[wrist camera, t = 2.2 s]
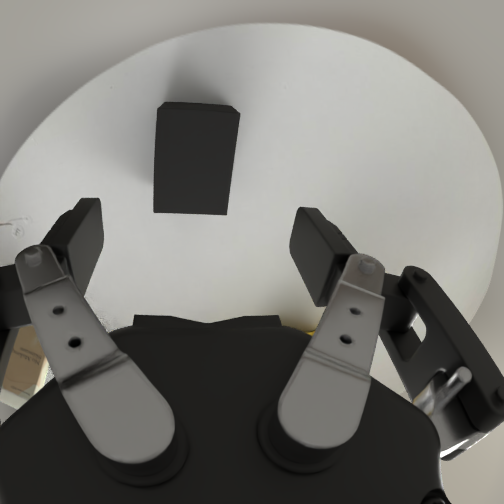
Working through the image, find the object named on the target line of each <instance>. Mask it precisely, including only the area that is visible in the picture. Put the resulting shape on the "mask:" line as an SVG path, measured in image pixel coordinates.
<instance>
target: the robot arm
mask: <svg viewBox="0 0 504 504" xmlns="http://www.w3.org/2000/svg"><path fill="white" fill-rule="evenodd" d="M103 243H104V231H103V222H102V211H101V202H100V199H99V198H81V199H80V200H79V202H78V203H77V204H76V206H75V207H74V208H73V210H68V211H67V212H65V213H64V214H62V215H61V216H60V217H59V218H58V220H57V221H56V222H55V224H54V225H53V226H52V228H51V230H49V232H48V233H47V235H46V236H45V238H44V239H43V240H42V242H41V243H40V244H39V245H33V246H30V247H27V248H25V249H24V250H22V251H21V252H20V253H19V254H18V255H17V256H16V258H15V264H12V265H7V266H2V267H0V392H1V388H2V384H3V380H4V377H5V373H6V369H7V366H8V363H9V359H10V356H11V353H12V350H13V347H14V344H15V341H16V338H17V335H18V332H19V329H20V328H21V327H26V326H32V325H33V327H34V329H35V332H36V335H37V337H38V340H39V342H40V345H41V347H42V349H43V352H44V354H45V356H46V359H47V361H48V363H49V365H50V368H51V370H52V372H53V374H54V376H55V377H54V378H53V379H51V380H50V381H49V382H48V383H47V384H46V385H45V386H44V387H42V388H41V389H40V390H39V391H38V392H37V393H36V394H35V395H33V396H32V397H31V398H30V399H29V400H28V401H27V402H26V403H24V404H23V405H22V406H21V407H20V408H19V409H18V410H17V411H16V412H15V413H13V414H12V415H11V416H10V417H9V418H8V419H7V420H6V421H5V422H4V423H3V424H2V425H1V421H0V504H451V503H450V501H449V500H448V498H447V497H446V495H445V492H444V489H443V483H442V477H441V460H444V461H449V460H452V459H454V458H456V457H457V456H458V455H460V454H461V453H463V452H464V451H466V450H467V449H469V448H470V447H471V446H473V445H474V444H475V443H477V442H478V441H480V440H481V439H482V438H484V437H485V436H486V435H487V434H489V433H490V432H491V431H492V430H494V429H495V428H496V427H497V426H499V425H500V424H501V423H502V422H503V421H504V377H503V375H502V374H501V372H500V370H499V369H498V367H497V366H496V364H495V362H494V361H493V359H492V358H491V356H490V355H489V353H488V352H487V350H486V349H485V347H484V346H483V344H482V343H481V341H480V340H479V338H478V337H477V335H476V334H475V333H474V331H473V330H472V328H471V327H470V325H469V324H468V323H467V321H466V320H465V318H464V317H463V316H462V314H461V313H460V312H459V310H458V309H457V308H456V306H455V305H454V304H453V302H452V301H451V300H450V299H449V297H448V296H447V295H446V293H445V292H444V291H443V290H442V288H441V287H440V286H439V285H438V283H437V282H436V281H435V280H434V279H433V277H432V276H431V275H430V274H429V273H427V272H426V271H424V270H423V269H421V268H418V267H415V266H406V267H405V268H404V270H403V272H402V274H401V276H396V275H392V274H387V273H385V268H384V266H383V265H382V264H381V263H380V262H379V261H378V260H376V259H375V258H373V257H371V256H368V255H365V254H360V253H358V252H357V251H356V250H355V248H354V247H353V246H352V245H351V243H350V242H349V241H348V240H347V238H346V237H345V236H344V235H342V232H341V231H340V230H339V228H338V227H337V226H335V225H334V224H333V223H331V222H330V221H328V220H326V218H325V217H324V216H323V215H322V213H321V212H320V211H319V210H318V209H317V208H308V207H299V208H298V210H297V213H296V217H295V221H294V225H293V229H292V234H291V238H290V244H289V248H290V254H291V256H292V258H293V260H294V262H295V264H296V266H297V268H298V270H299V272H300V274H301V277H302V279H303V281H304V283H305V285H306V287H307V289H308V291H309V293H310V295H311V297H312V299H313V302H314V304H315V306H316V307H325V306H327V307H326V309H325V311H324V313H323V315H322V317H321V320H320V322H319V324H318V326H317V328H316V330H315V332H314V334H313V336H311V335H309V334H308V333H305V332H303V331H301V330H298V329H295V328H291V327H287V326H282V324H281V321H280V318H279V315H268V316H242V317H238V318H233V319H228V320H223V321H219V322H214V323H202V322H197V321H192V320H187V319H182V318H178V317H173V316H157V315H134V320H133V326H127V327H123V328H120V329H117V330H114V331H112V332H110V333H107V331H106V330H105V329H104V327H103V326H102V324H101V323H100V321H99V320H98V318H97V317H96V315H95V314H94V312H93V311H92V309H91V307H90V306H89V304H88V303H87V301H86V300H85V298H84V295H85V292H86V289H87V287H88V284H89V281H90V279H91V276H92V273H93V271H94V268H95V266H96V263H97V261H98V258H99V256H100V253H101V251H102V248H103ZM418 315H419V316H420V317H421V319H422V320H423V322H424V324H425V326H426V336H425V338H424V340H423V341H422V342H421V341H420V339H419V337H418V336H417V334H416V332H415V331H414V329H413V327H412V325H413V323H414V322H415V320H416V318H417V317H418ZM378 334H379V336H380V338H381V340H382V342H383V344H384V346H385V348H386V350H387V352H388V354H389V356H390V358H391V360H392V362H393V364H394V366H395V368H396V370H397V372H398V374H399V376H400V378H401V380H402V382H403V385H404V387H405V389H406V391H407V393H408V395H409V397H410V400H411V402H412V403H410V402H409V401H407V400H406V399H404V398H403V397H401V396H400V395H398V394H397V393H395V392H394V391H392V390H391V389H389V388H388V387H386V386H385V385H383V384H382V383H380V382H379V381H377V380H376V379H374V378H373V377H371V376H370V375H369V373H370V368H371V364H372V360H373V356H374V352H375V348H376V343H377V338H378Z"/></svg>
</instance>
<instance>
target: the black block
mask: <svg viewBox="0 0 504 504" xmlns="http://www.w3.org/2000/svg"><path fill="white" fill-rule="evenodd" d="M239 120H240V113H239V112H238V111H237V110H236V109H234V108H233V107H232V106H227V105H216V104H202V103H184V102H164V103H163V104H162V105H161V106H160V107H159V108H158V109H157V121H156V137H155V157H154V197H153V212H154V213H180V214H208V215H227V209H228V201H229V193H230V185H231V178H232V170H233V163H234V155H235V148H236V141H237V134H238V127H239Z"/></svg>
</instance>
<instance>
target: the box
mask: <svg viewBox="0 0 504 504" xmlns="http://www.w3.org/2000/svg"><path fill="white" fill-rule="evenodd" d="M48 368H49V363H48V361H47V359H46V356H45V354H44V352H43V349H42V347H41V345H40V342H39V340H38V337H37V335H36V332H35V329H34V327H33V325H32V326H26V327H21V328H20V329H19V332H18V335H17V338H16V341H15V344H14V347H13V350H12V353H11V356H10V359H9V363H8V366H7V369H6V373H5V377H4V380H3V384H2V388H1V392H0V402H3V403H5V404H7V405H9V406H11V407H13V408H15V409H17V410H18V409H19V408H20V407H21V406H22V405H23V404H24V403H26V402H27V401H28V400H29V399H30V398H31V397H32V396H33V395H35V394H36V393H37V392H38V391H39V390H40V389H41V388H42V387H43V386H44V382H45V379H46V375H47V371H48Z"/></svg>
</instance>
